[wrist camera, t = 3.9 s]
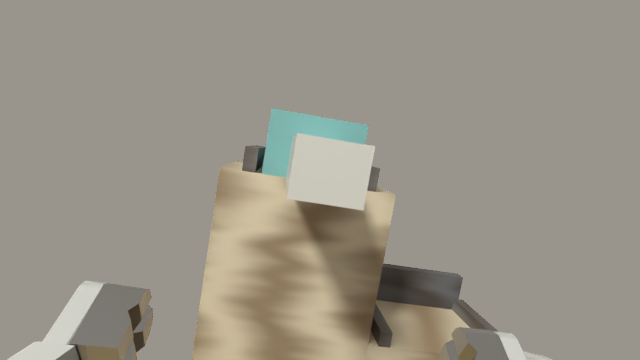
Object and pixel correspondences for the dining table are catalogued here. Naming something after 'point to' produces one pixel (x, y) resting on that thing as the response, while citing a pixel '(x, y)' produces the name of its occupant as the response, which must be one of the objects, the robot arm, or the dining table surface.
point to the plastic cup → (534, 356)
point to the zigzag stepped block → (315, 279)
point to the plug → (319, 158)
